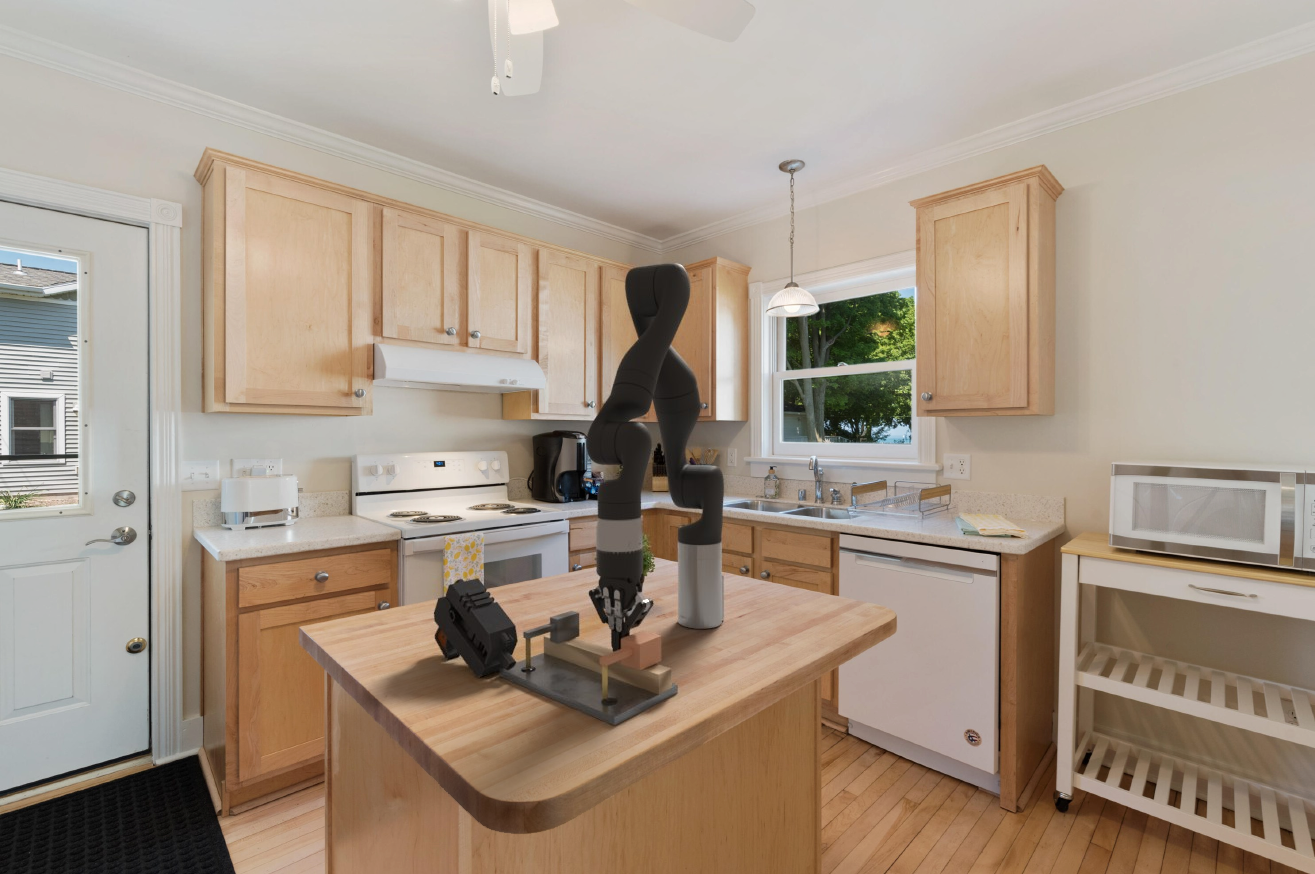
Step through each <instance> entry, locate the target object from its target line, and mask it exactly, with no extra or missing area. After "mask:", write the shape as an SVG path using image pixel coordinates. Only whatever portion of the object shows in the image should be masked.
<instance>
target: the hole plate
mask: <svg viewBox="0 0 1315 874" xmlns="http://www.w3.org/2000/svg"><path fill="white" fill-rule="evenodd" d="M498 677H501V678H503V679H505V680H508V681H510V682H512V683H515V684H516V685H519V686H521V687H524V688H526V689H528V690H531V691H533V692H535V693H538V694H540V695H542V696H544V697H547V698H549V699H550V700H551V699H552V700H553V701H555V702H558V703H561V704H563V705H565V706H568V707H570V708H573V709H575V710H577V711H579V712H582V713H583V714H586V715H588V716H591V717H594V718H595V719H598V720H599V721H603V722H605V723H607V724H609V725H611V726H614V727H615V726H617V725H619V724H620V723H623V722H624V721H627V720H628V719H630V718H632V717H635V716H636V715H638V714H640V713H641V712H644V711H646V710H647V709H650V708H651V707H653V706H654V705H657V704H659V703H661V702H663V701H665V700H666V699H669V698H670V697H672V696H674V695H676V694H678V693H679V692H678V690H679V688H678V684H676V683H674V682H672V688H671V689H669V690H667V691H665V692H663V693H661V694H656V693H653V692H651V691H648V690H645V689H642V688H640V687H637V686H634V685H631V684H629V683H626V682H623V681H620V680H617V679H615V678H612V677H609V676H608V698H607V699H603V698H602V674H601V673H598V672H595V671H593V670H590V669H587V668H584V667H582V666H579V665H576V664H573V663H571V662H568V661H565V660H562V659H560V658H557V657H554V656H551V655H549V654H546V653H544V652H542V653H539V654H537V655H534V656H531V668H526V658H525V659H522V660H520V661H516V664H515V666H514V667H513V668H512V669H510V670H506V669H505V668H504V667H502V668H500V669H499V670H498Z"/></svg>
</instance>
